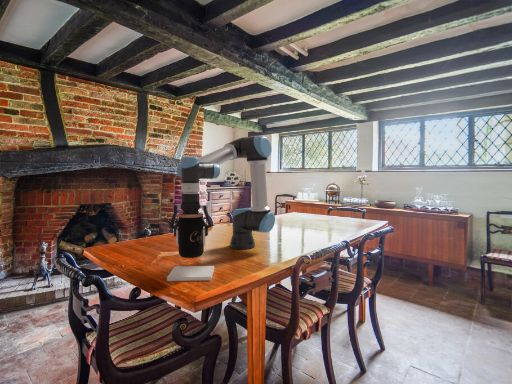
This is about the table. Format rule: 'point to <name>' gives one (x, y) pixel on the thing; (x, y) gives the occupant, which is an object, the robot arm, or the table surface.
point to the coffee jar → (190, 235)
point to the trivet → (191, 273)
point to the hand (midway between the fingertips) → (191, 243)
